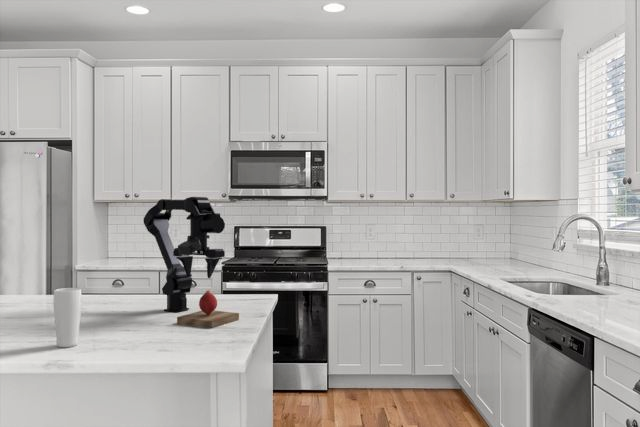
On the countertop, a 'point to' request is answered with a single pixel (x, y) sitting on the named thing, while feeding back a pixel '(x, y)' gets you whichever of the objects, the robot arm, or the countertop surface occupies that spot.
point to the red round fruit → (208, 303)
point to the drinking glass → (67, 316)
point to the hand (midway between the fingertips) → (198, 277)
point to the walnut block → (208, 319)
